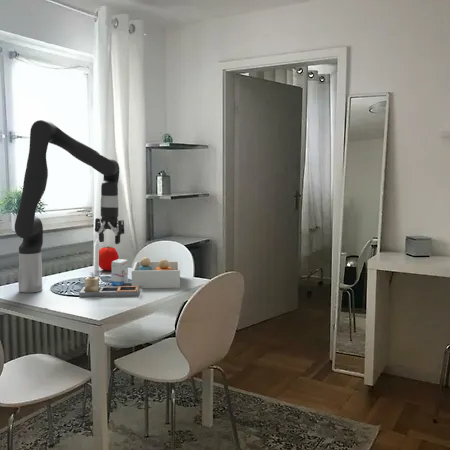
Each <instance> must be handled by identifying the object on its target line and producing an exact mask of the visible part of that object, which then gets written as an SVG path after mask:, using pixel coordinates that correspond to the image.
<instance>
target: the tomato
mask: <svg viewBox="0 0 450 450" xmlns="http://www.w3.org/2000/svg"><path fill="white" fill-rule="evenodd" d="M98 251H99V265H98V266H99V268H100V269H101V270H102V271H112V261H115V260H117V259H120V258H119V254H118V253H119V252H118V251H117V250H116V248H114V247H112V246H109V245H107V246H102V248H100V249H99V250H98Z"/></svg>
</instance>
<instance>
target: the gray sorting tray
mask: <svg viewBox="0 0 450 450" xmlns="http://www.w3.org/2000/svg"><path fill="white" fill-rule="evenodd" d="M78 295H79V298H111V297H112V298H116V297H117V298H118V297H121V298H122V297H138V296H139V295H140V286H132V285H123V286H122V285H111V286H99V291H85V286H83V287H82V289H81V290H80V291H79V294H78Z"/></svg>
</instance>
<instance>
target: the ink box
mask: <svg viewBox="0 0 450 450" xmlns="http://www.w3.org/2000/svg"><path fill="white" fill-rule="evenodd" d="M128 275H129V260H128V259H122V258H119V259H117V260H115V261H112V270H111V286H122V285H123V286H124V284H128V283H129V276H128Z"/></svg>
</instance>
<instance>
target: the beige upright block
mask: <svg viewBox="0 0 450 450" xmlns="http://www.w3.org/2000/svg"><path fill="white" fill-rule="evenodd" d="M84 287H85V291H99V287H100V277H99V276H87V277H86V278H85V279H84Z"/></svg>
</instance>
